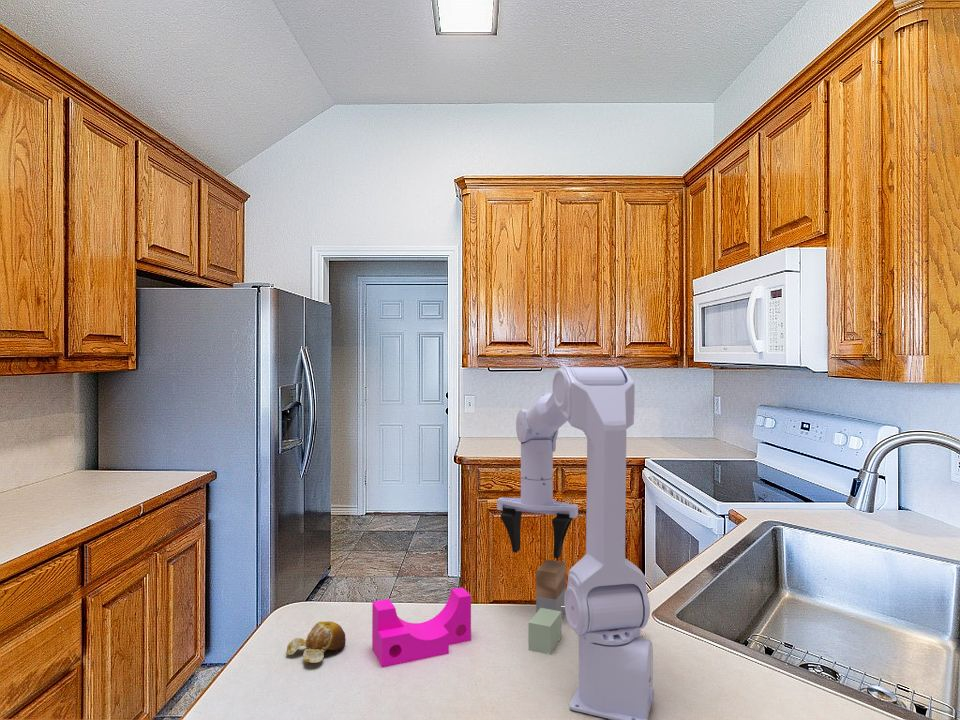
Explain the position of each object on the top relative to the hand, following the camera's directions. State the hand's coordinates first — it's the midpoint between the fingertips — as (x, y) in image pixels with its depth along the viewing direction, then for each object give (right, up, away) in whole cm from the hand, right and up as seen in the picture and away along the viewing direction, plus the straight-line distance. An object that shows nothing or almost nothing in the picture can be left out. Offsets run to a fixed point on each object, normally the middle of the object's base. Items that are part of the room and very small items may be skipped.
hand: (536, 553), depth 104 cm
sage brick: (0, -10, -12) cm, 16 cm away
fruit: (-36, -12, -18) cm, 42 cm away
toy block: (-19, -11, -13) cm, 25 cm away
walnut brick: (+2, -6, -2) cm, 7 cm away
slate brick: (+2, -11, -2) cm, 11 cm away
